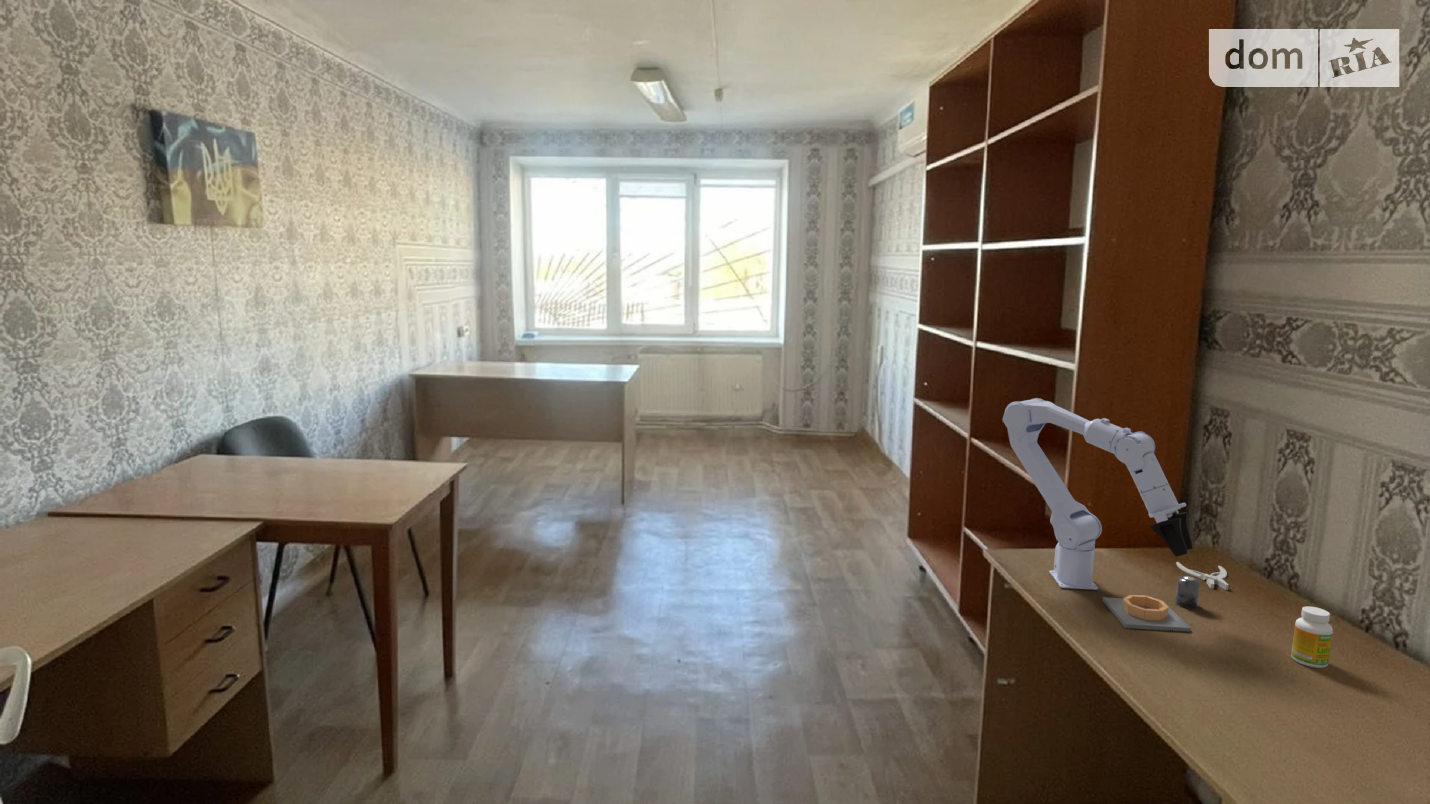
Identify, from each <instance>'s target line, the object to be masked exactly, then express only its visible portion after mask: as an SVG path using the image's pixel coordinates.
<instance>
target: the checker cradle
mask: <svg viewBox="0 0 1430 804" xmlns="http://www.w3.org/2000/svg"><path fill="white" fill-rule="evenodd" d="M1102 602H1103V603H1104V605H1105V606H1106V607H1107V608H1108V609H1109V610H1110V612H1112V614H1113V615H1114V616H1115V617H1116V618H1117V620H1118V622H1120V624H1121V625H1122V626H1123V627H1124V628H1125V629H1137V630H1138V629H1139V630H1154V631H1168V632H1169V631H1170V630H1171V631H1172V630H1173V631H1172V632H1189V633H1191V630H1192V629H1191V627H1190V626H1189V625H1188V624H1187V622H1185V621H1184V620H1183V619H1182V618H1181V617H1180V616H1179V615H1178V614H1177V613H1176V612H1175V611H1174V610H1173V609H1172V608H1171V607H1170V606H1169V605H1168V604H1167V603H1166V602H1164V600H1163V599H1158V598H1156V597H1152V596H1149V595H1142V594H1141V595H1139V594H1129V595H1127V596H1124V597H1120V598H1119V597H1106V596H1103V597H1102ZM1171 631H1170V632H1171Z"/></svg>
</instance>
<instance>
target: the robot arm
mask: <svg viewBox="0 0 1430 804" xmlns="http://www.w3.org/2000/svg"><path fill="white" fill-rule="evenodd" d="M1002 423H1004V425H1005V427H1006V428H1007V434H1008V440H1009V445H1010V447H1011V448H1012V450H1013V451H1014V453H1015V455H1016V458H1018V459H1019V461H1020V463H1021V464H1022V466H1023V468H1024V469H1025V471H1026V472H1027V474H1028V476H1029V477H1030V479H1031V480H1032V482H1033V484H1034V485H1035V486H1036V488H1037V490H1038V492H1039V494H1041V496H1042V498H1043V500H1044V501H1045V503H1046V504H1047V506H1048V507H1049V508H1050V511H1051V515H1050V519H1049V522H1050V524H1051V525H1052V528H1053V532H1054V537H1055V539H1056V541H1057V544H1056V545H1055V548H1054V549H1055V550H1054V560H1053V561H1054V562H1053V570H1051V569H1050V570H1049V574H1050V576H1051V577H1052V578H1053V579H1054V581H1055V582H1056V584H1057V585H1058V586H1059V587H1060V588H1061V589H1074V590H1075V589H1077V590H1095V591H1097V590H1099V587H1098V586H1097V585H1096V583H1094V581H1093V568H1094V559H1095V558H1094V557H1095V546H1096V539H1098V538H1099V537H1100V535H1101V534H1102V530H1103V529H1102V522H1101V521H1100V520H1099V518H1098V517H1097V516H1096V515H1094V514H1093V513H1091V512H1090V511H1089V510H1088V509H1087V507H1086V506H1085V504H1083V503H1080V502H1078V501H1076V499H1074V497H1073V496H1072V494H1071V493H1070V491H1069V489H1068V488H1067V486H1066V485H1065V484H1064V481H1063V480H1062V479H1061V477H1060V475H1059V474H1058V473H1057V471H1056V470H1055V468H1054V466H1053V465H1052V463H1051V461H1050V460H1049V459H1048V457H1047V455H1046V453H1044V451H1043V450H1042V448H1041V447H1040V445H1039V443H1038V438H1039V434H1040V433H1041V431H1042V430H1043V428H1044V427H1045V425H1046V424H1049V423H1050V424H1053V425H1054V426H1055V425H1056V426H1058V427H1061V428H1063V429H1066V430H1070V431H1072V432H1074V433H1078V434H1080V435H1083V438H1084V441H1085V442H1086V443H1088V444H1089V445H1092V446H1094V447H1096V448H1100V449H1102V450H1104V451H1106V452H1109V453H1110V454H1114V456H1115V457H1116V459H1117V460H1118V461H1120V462H1121V463H1123V464H1124V465H1125V466H1126V468H1127V470H1128V471H1129V473H1130V474H1129V475H1130V476H1131V478H1132V479H1133V482H1134V484H1135V486H1136V488H1137V491H1138V493H1139V495H1140V497H1141V499H1142V501H1143V503H1144V505H1145V508H1146V510H1147V512H1148V516H1149V517H1148V518H1151V519H1152V518H1154V521H1155V522H1156V523H1153V524H1150V525H1149V528H1150V529H1151V530H1152V531H1153V532H1155V533H1156V534H1157V535H1158V536H1159V538H1161V540H1162V541H1163V542H1164V543H1165V545H1166V546H1167V547H1168V548H1169V550H1170V551H1171V554H1173V555H1174V556H1175V557H1181V556H1184V555H1188V551H1189V550H1192V549H1193V541H1192V538H1191V535H1190V529H1189V524H1188V521H1189V520H1188V519H1189V513H1188V512H1187V511H1185V512H1182V513H1179V511H1178V510H1180V509H1182V508H1184V507H1186V506H1187V504H1186V502H1182V503H1179V502H1178V500H1177V498H1176V496H1175V493H1174V491H1173V490H1172V488H1171V485H1170V483H1169V482H1168V479H1167V478H1166V475H1165V473H1164V471H1163V469H1162V466H1161V465H1160V463H1159V461H1158V459H1157V457H1156V455H1155V452H1156V451H1155V450H1156V444H1155V443H1156V442H1155V441H1154V439H1153V438H1152V437H1151V436H1150V435H1149V434H1147V433H1146V432H1144V431H1135V432H1132V429H1131V428H1130V427H1129V428H1128V427H1124V428H1123V427H1121V426H1118V425H1115V424H1113V423H1110V419H1108V418H1105V417H1103V418H1101V419H1100V418H1095V419H1093V420H1088V419H1086V418H1084V417H1082V416H1080V415H1078V414H1076V413H1073V412H1071V411H1069V410H1068V409H1066V408H1063V407H1060V406H1058V405H1056V404H1055V403H1053V402H1052V401H1048V400H1044V399H1042V398H1038V397H1035V398H1031V399H1027V400H1022V401H1012V402H1010V403H1009V404H1007V406H1006V408H1005V410H1004V413H1003V417H1002Z"/></svg>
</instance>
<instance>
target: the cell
mask: <svg viewBox="0 0 1430 804" xmlns="http://www.w3.org/2000/svg"><path fill="white" fill-rule="evenodd" d="M1200 585H1201V581H1200V579H1198V578H1197V577H1196V578H1195V577H1194V576H1191V575H1190V576H1189V575H1181V576H1180V575H1179V576H1178V577H1177V582H1176V591H1175V592H1176V593H1175V602H1174V603H1175V605H1176V606H1179V607H1180V608H1184V609H1191V610H1192V609H1193V610H1194V609H1197V608H1198V603H1199V596H1200V595H1199V594H1200Z"/></svg>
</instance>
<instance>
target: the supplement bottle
mask: <svg viewBox="0 0 1430 804" xmlns="http://www.w3.org/2000/svg"><path fill="white" fill-rule="evenodd" d="M1300 614H1301V615H1300V616H1301V617H1299V618H1297V619H1296V620H1295V624H1294V631H1293V638H1292V646H1291V652H1290V653H1291V655H1290V657H1291V658H1292V659H1293V660H1294V662H1297V663H1298V664H1301V665H1304V666H1307V667H1310V668H1315V669H1316V668H1318V669H1323V668H1327V667H1328V666H1329V663H1330V662H1329V661H1330V656H1331V655H1330V654H1331V647H1332V642H1333V634H1334V629H1333V626H1332V625H1331V624H1330V623H1329V622H1330V618H1331V614H1330V612H1329V611H1327V610H1325V609H1323V608H1320V607H1316V606H1302V609H1301V613H1300Z"/></svg>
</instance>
